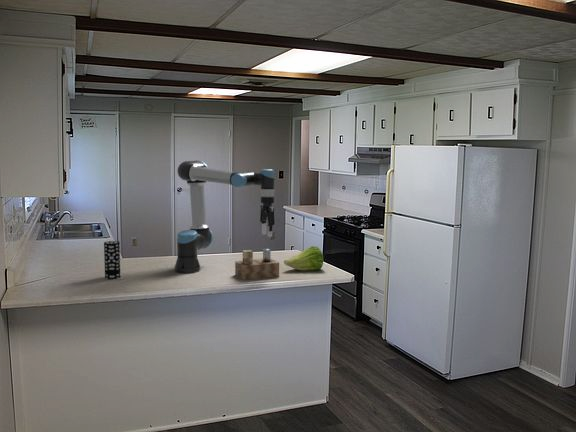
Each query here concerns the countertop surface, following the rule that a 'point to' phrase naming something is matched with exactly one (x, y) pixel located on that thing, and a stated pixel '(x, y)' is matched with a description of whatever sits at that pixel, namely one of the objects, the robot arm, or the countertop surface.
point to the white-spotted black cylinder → (112, 259)
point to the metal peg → (266, 255)
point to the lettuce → (306, 260)
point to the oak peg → (247, 257)
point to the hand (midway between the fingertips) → (266, 235)
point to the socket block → (257, 269)
